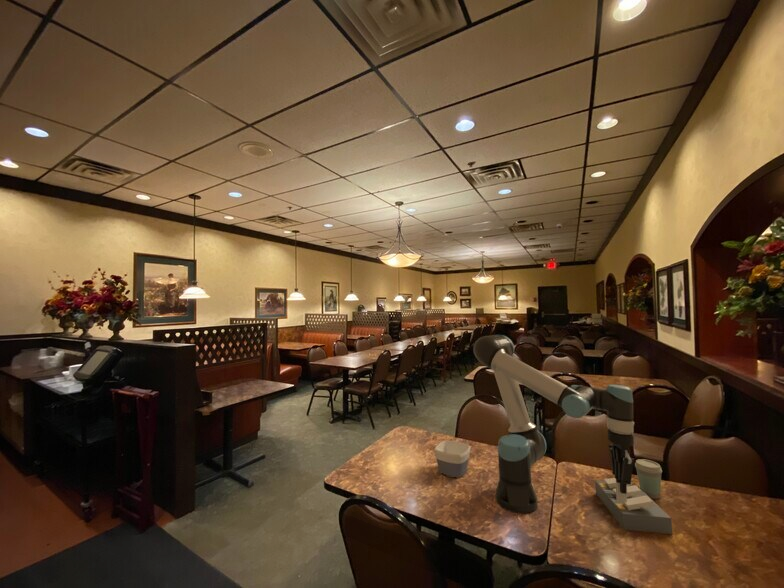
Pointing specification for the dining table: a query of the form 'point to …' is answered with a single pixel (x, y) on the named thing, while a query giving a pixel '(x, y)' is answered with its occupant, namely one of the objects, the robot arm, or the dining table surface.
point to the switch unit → (634, 512)
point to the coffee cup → (649, 477)
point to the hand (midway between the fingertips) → (621, 500)
